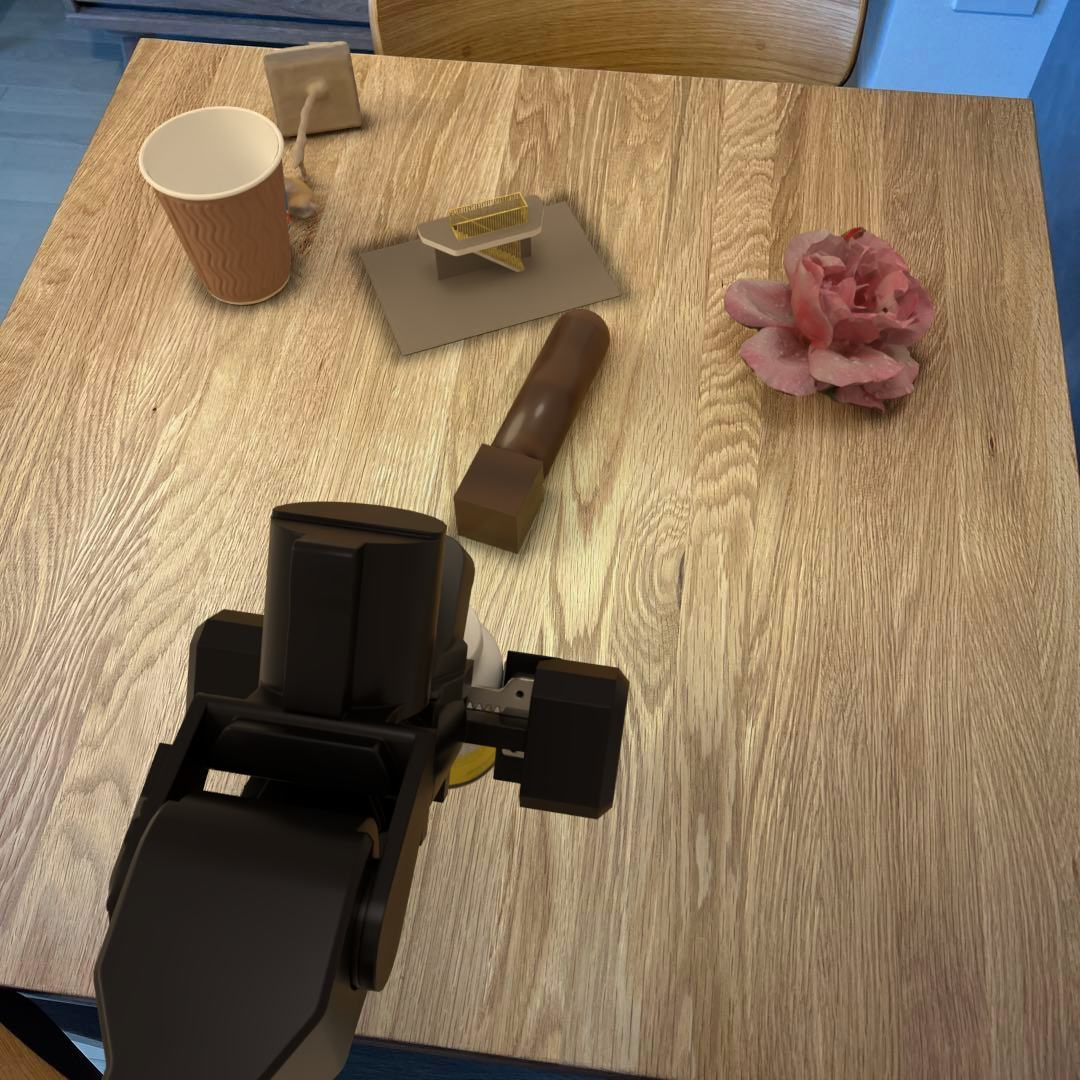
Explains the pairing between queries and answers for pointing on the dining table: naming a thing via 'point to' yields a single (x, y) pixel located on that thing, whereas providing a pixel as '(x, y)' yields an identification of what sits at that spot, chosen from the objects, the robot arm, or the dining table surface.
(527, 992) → the dining table surface
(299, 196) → the decorative sculpture
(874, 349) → the flower
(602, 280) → the platform
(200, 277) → the coffee cup
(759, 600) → the dining table surface
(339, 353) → the dining table surface
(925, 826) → the dining table surface
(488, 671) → the pill bottle
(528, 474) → the walnut leg
